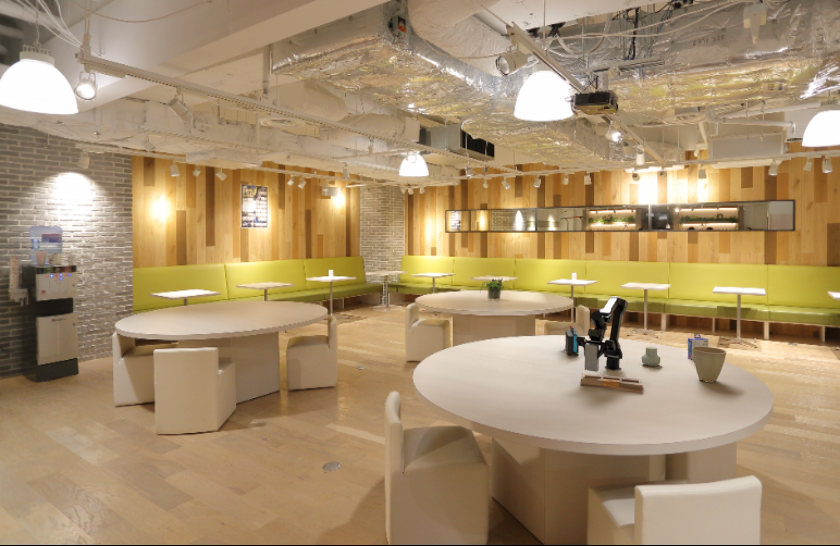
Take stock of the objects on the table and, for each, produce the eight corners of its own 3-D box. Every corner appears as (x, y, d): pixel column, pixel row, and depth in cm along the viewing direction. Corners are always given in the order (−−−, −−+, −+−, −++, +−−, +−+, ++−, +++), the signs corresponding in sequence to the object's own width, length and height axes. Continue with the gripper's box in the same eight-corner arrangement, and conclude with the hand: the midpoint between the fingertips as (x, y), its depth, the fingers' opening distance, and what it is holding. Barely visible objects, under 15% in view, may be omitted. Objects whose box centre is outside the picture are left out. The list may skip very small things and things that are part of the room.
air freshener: (656, 368, 273) (657, 350, 272) (640, 365, 278) (641, 348, 277) (660, 364, 281) (661, 346, 281) (645, 361, 286) (646, 344, 286)
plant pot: (721, 386, 240) (722, 354, 238) (687, 380, 250) (689, 350, 248) (727, 379, 251) (729, 349, 249) (695, 374, 261) (696, 344, 259)
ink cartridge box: (703, 357, 295) (704, 333, 294) (708, 360, 289) (709, 335, 288) (686, 357, 295) (687, 333, 294) (691, 360, 289) (692, 335, 288)
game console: (579, 357, 298) (579, 333, 296) (568, 356, 299) (568, 333, 298) (574, 346, 325) (575, 325, 324) (564, 346, 326) (565, 324, 325)
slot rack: (582, 380, 252) (582, 372, 252) (641, 386, 241) (642, 378, 241) (580, 385, 243) (580, 378, 242) (642, 392, 232) (642, 384, 232)
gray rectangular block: (586, 368, 250) (587, 343, 248) (598, 370, 246) (599, 344, 245) (584, 369, 247) (585, 344, 246) (596, 371, 244) (597, 346, 242)
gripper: (577, 320, 253) (568, 345, 246) (614, 324, 242) (606, 351, 234) (582, 333, 260) (574, 357, 253) (619, 337, 248) (611, 363, 241)
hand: (590, 357), depth 245 cm, fingers closed on gray rectangular block, 6 cm apart
